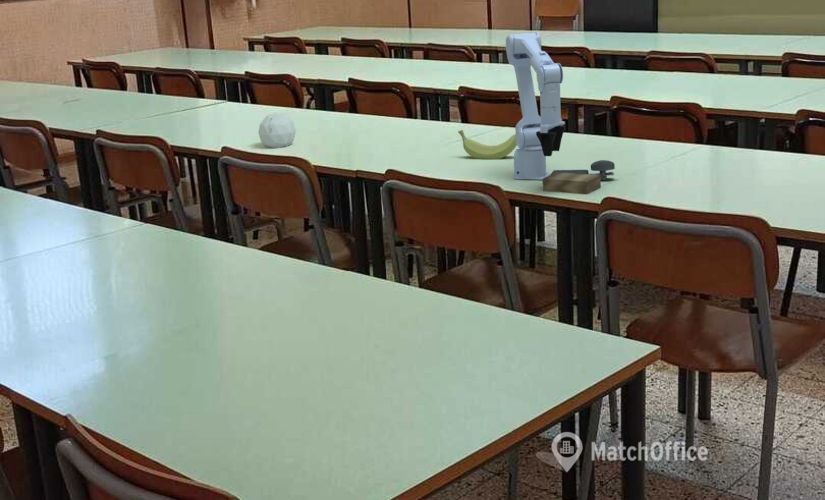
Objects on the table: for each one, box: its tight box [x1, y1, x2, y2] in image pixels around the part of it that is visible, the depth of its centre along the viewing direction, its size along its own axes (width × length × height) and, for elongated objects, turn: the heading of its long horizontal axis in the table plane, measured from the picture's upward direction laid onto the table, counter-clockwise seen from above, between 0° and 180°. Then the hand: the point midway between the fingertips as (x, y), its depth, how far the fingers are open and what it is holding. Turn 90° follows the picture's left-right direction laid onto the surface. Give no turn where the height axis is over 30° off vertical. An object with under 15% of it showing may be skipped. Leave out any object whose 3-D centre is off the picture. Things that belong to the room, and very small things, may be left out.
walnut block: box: [542, 172, 602, 195], centre depth 308 cm, size 14×9×4 cm, turn 55°
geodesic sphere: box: [258, 112, 297, 149], centre depth 402 cm, size 15×14×14 cm
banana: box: [457, 129, 518, 160], centre depth 357 cm, size 14×6×20 cm
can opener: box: [550, 159, 616, 181], centre depth 319 cm, size 19×5×6 cm, turn 75°
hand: (551, 153), depth 308 cm, fingers open, 7 cm apart
